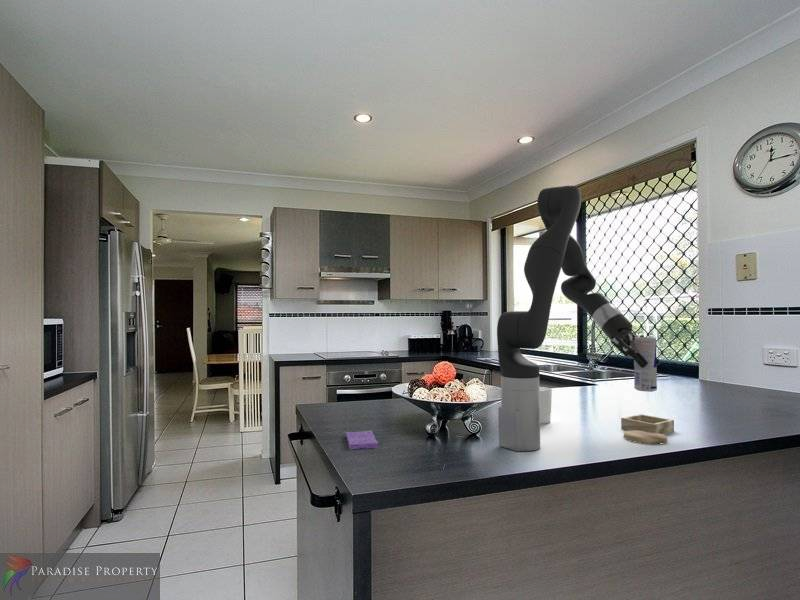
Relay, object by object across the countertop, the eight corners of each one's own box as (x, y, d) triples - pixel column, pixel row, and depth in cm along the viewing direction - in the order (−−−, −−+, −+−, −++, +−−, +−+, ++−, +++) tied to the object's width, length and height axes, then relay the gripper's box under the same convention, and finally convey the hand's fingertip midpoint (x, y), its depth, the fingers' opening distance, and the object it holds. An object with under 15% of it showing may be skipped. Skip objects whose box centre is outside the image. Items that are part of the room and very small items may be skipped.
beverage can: (660, 392, 129) (660, 337, 129) (640, 391, 129) (639, 337, 130) (650, 389, 135) (649, 336, 135) (630, 388, 135) (630, 336, 135)
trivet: (653, 446, 115) (653, 442, 115) (615, 437, 123) (615, 433, 123) (674, 440, 120) (674, 436, 120) (637, 432, 129) (637, 428, 129)
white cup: (546, 425, 137) (546, 391, 137) (521, 422, 142) (520, 388, 142) (555, 420, 143) (555, 388, 143) (531, 417, 148) (530, 385, 148)
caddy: (655, 435, 125) (654, 424, 125) (621, 428, 133) (621, 418, 133) (674, 431, 130) (673, 420, 130) (640, 424, 138) (640, 414, 138)
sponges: (349, 451, 113) (349, 443, 113) (345, 438, 126) (345, 431, 126) (378, 449, 115) (378, 442, 115) (371, 436, 127) (371, 429, 127)
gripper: (605, 312, 135) (646, 357, 125) (633, 313, 143) (674, 355, 132) (589, 330, 139) (627, 375, 129) (617, 330, 147) (656, 372, 137)
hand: (651, 365), depth 131 cm, fingers closed on beverage can, 5 cm apart
